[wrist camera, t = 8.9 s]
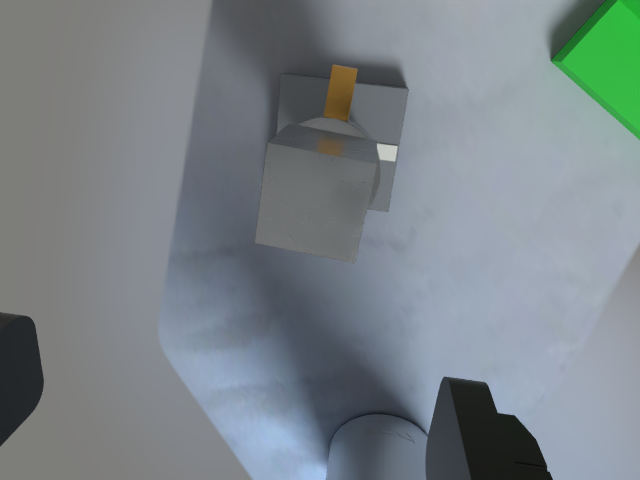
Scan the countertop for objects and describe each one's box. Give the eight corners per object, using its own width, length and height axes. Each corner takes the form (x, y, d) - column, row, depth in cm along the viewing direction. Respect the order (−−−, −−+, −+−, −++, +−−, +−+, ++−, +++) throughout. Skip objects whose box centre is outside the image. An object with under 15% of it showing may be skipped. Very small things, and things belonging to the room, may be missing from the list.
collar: (402, 76, 23) (410, 87, 17) (368, 225, 27) (365, 278, 21) (291, 55, 24) (261, 59, 18) (270, 205, 27) (239, 252, 21)
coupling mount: (387, 204, 34) (390, 242, 27) (276, 190, 34) (253, 224, 28) (407, 87, 30) (415, 98, 24) (284, 73, 31) (260, 80, 25)
